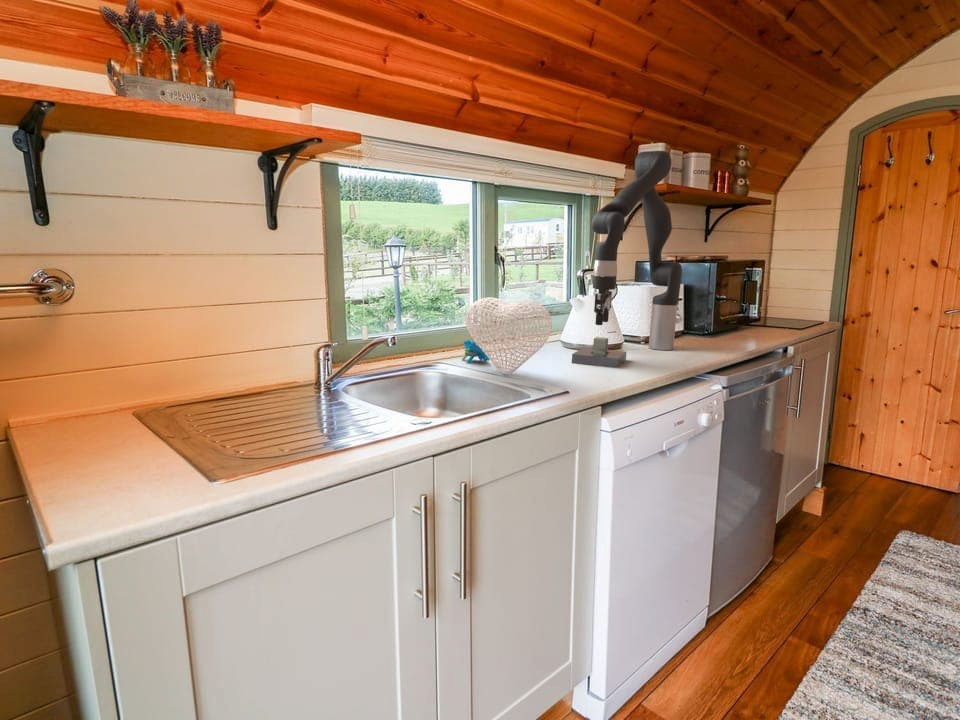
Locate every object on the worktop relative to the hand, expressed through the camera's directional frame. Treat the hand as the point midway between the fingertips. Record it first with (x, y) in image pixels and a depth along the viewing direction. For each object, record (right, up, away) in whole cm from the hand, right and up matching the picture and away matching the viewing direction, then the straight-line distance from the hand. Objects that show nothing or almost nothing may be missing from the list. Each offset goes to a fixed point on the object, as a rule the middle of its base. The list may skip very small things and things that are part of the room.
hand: (601, 323), depth 194 cm
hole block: (0, -13, +2) cm, 13 cm away
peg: (0, -13, +2) cm, 13 cm away
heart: (-33, -17, -21) cm, 43 cm away
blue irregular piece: (-42, -13, -4) cm, 44 cm away
